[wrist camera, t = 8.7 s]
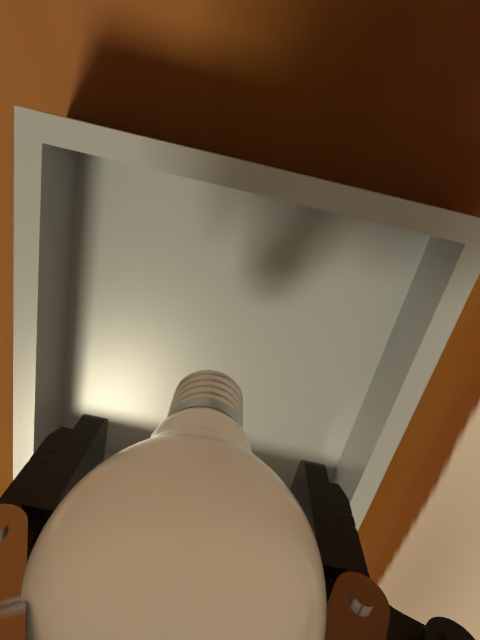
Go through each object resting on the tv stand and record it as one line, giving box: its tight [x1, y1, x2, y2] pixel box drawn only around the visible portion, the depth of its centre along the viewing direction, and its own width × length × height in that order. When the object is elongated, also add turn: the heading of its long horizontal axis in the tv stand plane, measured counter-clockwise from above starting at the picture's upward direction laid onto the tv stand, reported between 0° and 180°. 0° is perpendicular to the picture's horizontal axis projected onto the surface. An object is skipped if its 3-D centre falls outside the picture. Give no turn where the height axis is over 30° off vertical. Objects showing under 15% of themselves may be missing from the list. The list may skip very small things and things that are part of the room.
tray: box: [13, 106, 480, 531], centre depth 19 cm, size 18×18×4 cm
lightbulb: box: [21, 370, 327, 640], centre depth 11 cm, size 6×6×11 cm
